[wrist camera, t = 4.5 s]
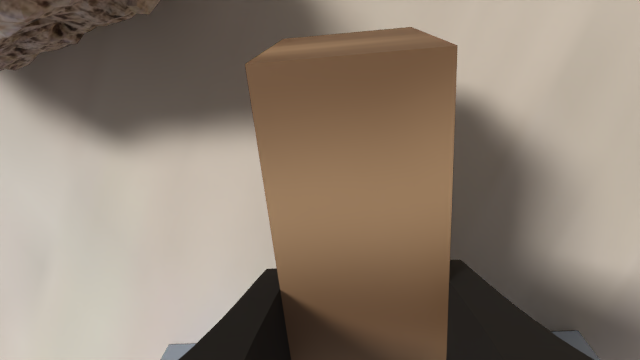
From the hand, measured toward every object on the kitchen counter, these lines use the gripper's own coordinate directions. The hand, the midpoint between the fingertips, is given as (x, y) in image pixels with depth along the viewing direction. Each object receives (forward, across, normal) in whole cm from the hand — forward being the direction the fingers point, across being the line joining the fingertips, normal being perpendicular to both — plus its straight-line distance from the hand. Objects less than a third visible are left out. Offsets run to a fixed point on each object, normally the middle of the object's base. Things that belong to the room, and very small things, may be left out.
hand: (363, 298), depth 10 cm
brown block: (+4, 0, 0) cm, 4 cm away
